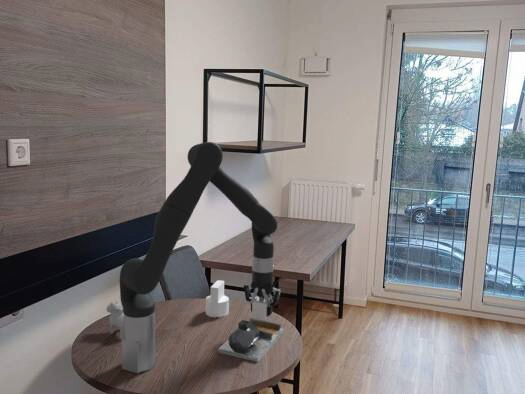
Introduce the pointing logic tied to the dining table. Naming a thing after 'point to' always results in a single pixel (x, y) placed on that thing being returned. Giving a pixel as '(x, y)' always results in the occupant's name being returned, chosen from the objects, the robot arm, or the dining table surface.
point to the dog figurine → (116, 318)
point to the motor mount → (252, 339)
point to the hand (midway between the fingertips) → (261, 314)
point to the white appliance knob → (217, 301)
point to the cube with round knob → (259, 308)
